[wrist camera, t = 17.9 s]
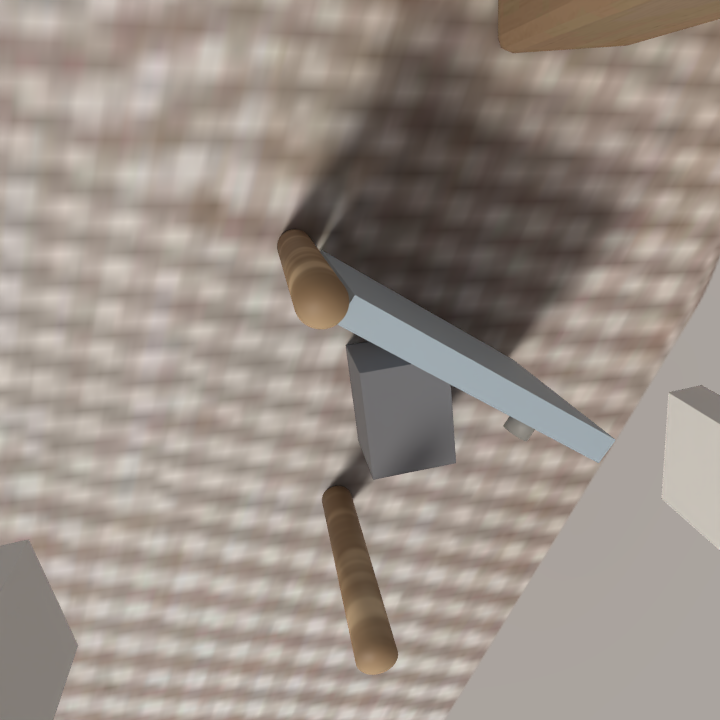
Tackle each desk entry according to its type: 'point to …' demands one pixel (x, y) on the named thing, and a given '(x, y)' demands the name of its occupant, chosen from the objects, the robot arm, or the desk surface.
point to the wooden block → (595, 22)
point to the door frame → (354, 568)
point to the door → (464, 363)
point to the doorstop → (399, 413)
